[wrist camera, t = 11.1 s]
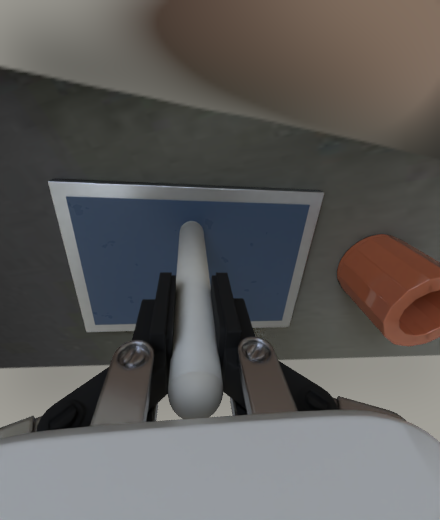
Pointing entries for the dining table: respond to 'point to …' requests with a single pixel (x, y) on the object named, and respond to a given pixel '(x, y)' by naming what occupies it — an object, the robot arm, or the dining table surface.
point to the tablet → (167, 242)
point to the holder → (394, 288)
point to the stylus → (194, 332)
